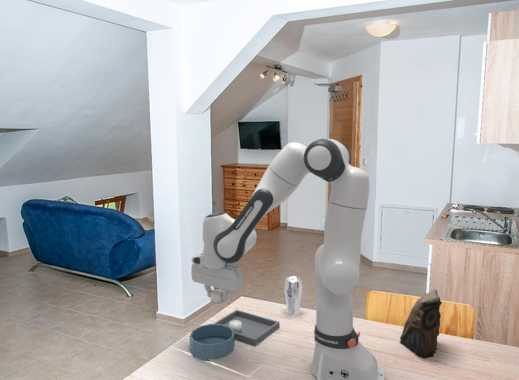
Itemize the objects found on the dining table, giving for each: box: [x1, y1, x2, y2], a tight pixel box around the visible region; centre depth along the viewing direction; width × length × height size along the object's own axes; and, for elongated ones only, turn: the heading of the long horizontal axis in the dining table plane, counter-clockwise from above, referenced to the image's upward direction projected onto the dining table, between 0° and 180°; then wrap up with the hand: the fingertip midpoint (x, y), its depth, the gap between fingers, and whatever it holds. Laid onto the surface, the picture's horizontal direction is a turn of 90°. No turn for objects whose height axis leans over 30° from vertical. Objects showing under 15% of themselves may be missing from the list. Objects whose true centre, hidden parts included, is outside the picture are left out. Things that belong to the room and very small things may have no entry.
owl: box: [399, 288, 443, 360], centre depth 143 cm, size 13×13×20 cm
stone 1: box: [210, 288, 225, 305], centre depth 146 cm, size 5×5×3 cm
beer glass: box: [284, 275, 303, 317], centre depth 171 cm, size 7×7×15 cm
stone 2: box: [229, 320, 242, 333], centre depth 156 cm, size 5×5×3 cm
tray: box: [213, 309, 280, 347], centre depth 158 cm, size 20×16×3 cm
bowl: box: [189, 323, 236, 362], centre depth 145 cm, size 15×15×6 cm
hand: (217, 298), depth 146 cm, fingers closed on stone 1, 5 cm apart
